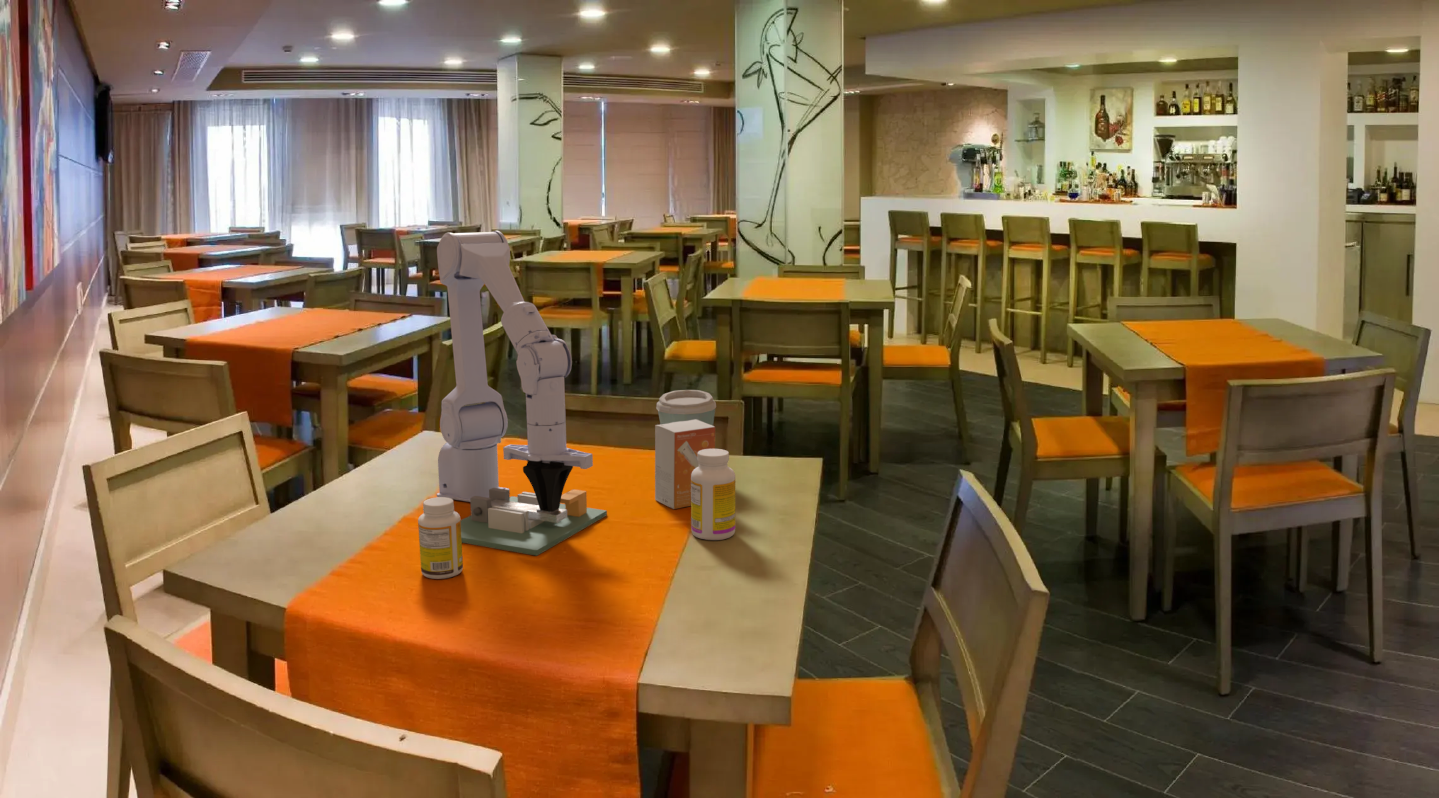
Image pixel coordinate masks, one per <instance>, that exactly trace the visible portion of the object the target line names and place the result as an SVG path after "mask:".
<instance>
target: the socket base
mask: <svg viewBox="0 0 1439 798" xmlns="http://www.w3.org/2000/svg"><path fill="white" fill-rule="evenodd" d="M496 499H498V500H505V501H512V502H518V503H525V504H532V505H539V504H538V501H537V498H536V495H535V492H528V491H522V492H521V493H518V494H517V496H510V491H509V490H506V489H500V488H491V489H489V498H486V497H480V496H473V497H471V498H470V502H469V503H470V515H468V516H467V517H464V518H462V519H460V521H461V540H462V544H469V545H474V546H479V547H480V546H481V547H484V548H485V547H486V548H490V549H491V548H492V549H497V550H503V551H508V552H509V551H510V552H513V553H520V554H525V555H531V556H536V557H537V556H539V555H541V554H542V553H544V552H545V551H547V550H549V549H551V548H553V547H555V546H556V545H557V544H560V543H562V542H563V541H565V540H566V539H568V538H571V537H572V536H574V535H576V534H578V532H580V531H582V530H584V529H586V528H587V527H588V528H589V526H591V525H593V524H594V523H596V522H598V521H599V520H602V519H603V518H605V517H607V515H608V511H607V510H606V509H605V510H604V509H599V508H592V507H587V513H585V514H583V515H581V516H580V517H576V516H570V515H567V518H565V519H563V520H561V521H559V522H557V523H554V522H548V521H541V520H534V519H528V511H527V510H520V509H514V508H508V507H501V506H493V508H492V506H491V501H493V500H496ZM559 508H560V509H565V504H564V503H560V506H559Z"/></svg>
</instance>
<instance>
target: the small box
mask: <svg viewBox="0 0 1439 798" xmlns="http://www.w3.org/2000/svg"><path fill="white" fill-rule="evenodd" d="M654 430H655V431H654V439H655V441H654V445H655V447H654V449H655V450H654V451H655V453H654V461H655V462H654V479H655V480H654V481H655V482H654V489H655V490H654V500H655V501H656V502H659V503H660V504H663V505H664V506H667V507H668V508H670V509H673V510H676V509H682V508H687V507H691V474H692V471H693V470H694V469H695V468H697V467H699V462H698V460H697V457H698V451H700V450H703V449H716V426H714V425H713V426H712V425H710V424H707V423H704V422H702V421H699V420H697V419H695V420H689V421H679V422H672V423H668V424H661V425H660V424H655V425H654Z"/></svg>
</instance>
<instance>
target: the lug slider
mask: <svg viewBox="0 0 1439 798" xmlns="http://www.w3.org/2000/svg"><path fill="white" fill-rule="evenodd" d="M587 500H588V499H587V491H586V490H581V489H574V488H573V489H570V491H567V492H565V493H562V496H561V501H560V504H565V509H567V515H570V516H576V517H580V516H581V515H583V514H585V513H587V508H588V506H587V504H588V503H587Z"/></svg>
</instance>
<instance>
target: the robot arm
mask: <svg viewBox="0 0 1439 798" xmlns="http://www.w3.org/2000/svg"><path fill="white" fill-rule="evenodd" d="M441 236H442V237H441V238H440V240H439V242H438V245H437V247H436V256H437V267H438V275H439V282H440V284H442V285H444V286H446V288H447V295H448V296H447V297H448V308H449V319H450V321H449V322H450V331H451V341H452V343H451V344H452V352H453V353H452V354H453V362H454V372H455V373H454V375H455V383H456V385H455V387H454V388H453V389H452V390H451V391H450V392H449V393H447V395H446V396H445V397H444V398H442V400H441V406H440V407H441V413H440V420H439V427H440V433H441V434H442V435H441V436H442V437H443V440H444V441H445V442H446V443H444V444H443V445H442V446H441V447H440V450H439V453H438V458H437V469H438V470H437V471H438V484H439V485H438V486H439V487H438V488H439V489H438V490H439V491H438V492H437V493H436V497H447V498H451V499H452V500H456V501H461V502H467V503H471V502H470V498H471V497H473V496H480V497H486V498H489V489H491V488H500V489H506V490H509V492H510V491H511V490H510V488H509V487H508V488H507V487H502V486H501V487H500V486H499V483H500V481H499V462H498V461H499V460H498V444H500V443H502V439H501V438H503V437H504V436H505V434H506V432H507V430H508V426H509V423H508V421H509V420H508V415H507V412H506V410H505V406H504V402H503V401H504V400H503V395H502V394H501V393H499V392H498V391H497V390H496V389H493V388H492V387H491V386H489V385H488V373H487V372H488V371H487V361H486V351H485V340H484V339H485V338H484V329H483V328H484V327H483V316H482V305H481V295H480V294H481V292H480V291H481V290H482V288H483V287H484V285H485V286H486V288H487V289H488V291H489V292H490V294H491V296H492V297H493V299H494V300H495V302H496V303H497V305H498V306H499V307H500V309H501V311H502V312H503V313H502V315H501V319H500V324H501V325H502V327H503V329H504V331H505V333H506V335H507V337H508V339H509V341H510V342H511V344H512V346H513V348H514V351H516V354H517V358H516V359H517V360H516V362H515V363H516V369H517V372H518V375H519V377H520V381H521V389H522V392H523V393H525V405H526V408H525V409H526V431H527V436H526V437H527V444H511V443H510V444H508V445H506V446H503V447H502V448H503V460H506V461H511V460H518V461H526V462H527V463H526V465H524V466H522V471H523V473H524V475H525V476H526V478H527V479H528V481H529V483H530V485H531V487H532V489H533V491H534V492H533V493H535V495H536V498H537V501H538V504H539V508H540V510H545V509H547V508H548V511H551V512H553V511H555V510H557V509H559V506H560V504H561V503H560V501H561V496H562V495H563V492H564V488H565V484H566V483H567V480H568V478H569V477H570V474H571V472H572V470H573V469H574V467H575V468H576V467H577V468H580V469H583V470H587V469H590V468H591V467H593V466H594V463H593V462H594V461H593V453H589V452H584V451H580V450H577V449H572V448H569V447H567V425H566V424H567V423H566V422H567V421H566V397H565V395H566V394H565V378H567V377H568V376H569V375H570V373H571V371H572V365H573V362H572V361H573V360H572V354H571V351H570V349H569V346H568V344H567V342H566V341H565V340H563V339H561V338H558V337H557V335H555V334H552V333H551V331H550V330H549V328H548V327H547V325H546V323H545V321H544V319H543V318H542V316H541V314H540V311H538V308H537V307H536V305H535V304H534V303H532V302H529V301H525V299H524V297H523V295H522V293H521V291H520V288H519V286H518V284H517V281H516V279H515V277H514V275H513V272H512V270H511V268H510V263H511V262H510V260H511V248H510V246H509V243H508V240H507V238H506V237H505V235H504V234H503V233H502V231H500V230H493V231H483V232H482V231H481V232H479V231H478V232H455V233H453V232H445V233H444V234H443V235H441Z"/></svg>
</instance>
